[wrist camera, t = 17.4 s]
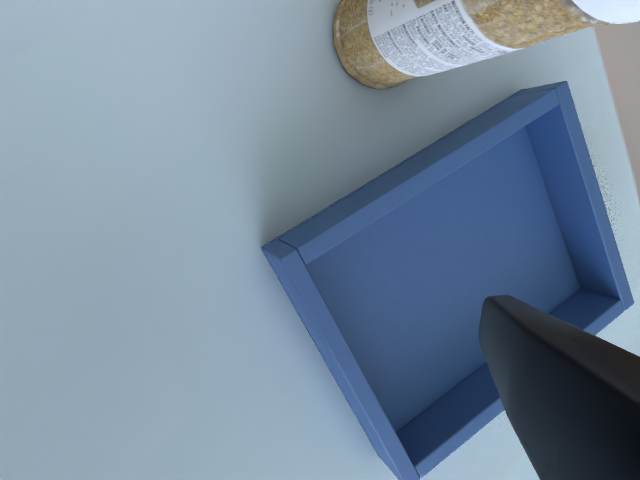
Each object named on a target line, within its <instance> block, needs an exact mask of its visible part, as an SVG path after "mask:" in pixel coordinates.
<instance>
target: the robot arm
mask: <svg viewBox="0 0 640 480" xmlns="http://www.w3.org/2000/svg"><path fill="white" fill-rule="evenodd" d="M478 338H479V344H480V347H481V349H482V352H483V355H484V357H485V360H486V362H487V365H488V368H489V370H490V373H491V375H492V378H493V381H494V383H495V386H496V388H497V391H498V394H499V396H500V399H501V401H502V404H503V406H504V409H505V411H506V414H507V416H508V418H509V420H510V422H511V424H512V426H513V428H514V430H515V432H516V434H517V436H518V438H519V440H520V442H521V444H522V446H523V448H524V450H525V452H526V453H527V455H528V457H529V459H530V461H531V463H532V465H533V467H534V469H535V471H536V473H537V475H538V477H539V479H540V480H640V357H639V356H637V355H635V354H633V353H630V352H628V351H626V350H624V349H622V348H620V347H618V346H616V345H613V344H611V343H609V342H607V341H605V340H603V339H601V338H599V337H596V336H594V335H592V334H590V333H588V332H586V331H584V330H582V329H580V328H577V327H575V326H573V325H571V324H569V323H567V322H565V321H563V320H560V319H558V318H556V317H554V316H552V315H550V314H548V313H546V312H543V311H541V310H539V309H537V308H535V307H533V306H531V305H529V304H526V303H524V302H522V301H520V300H518V299H516V298H514V297H512V296H509V295H496V296H488V297H486V298H485V300H484V302H483V305H482V312H481V318H480V325H479V332H478Z"/></svg>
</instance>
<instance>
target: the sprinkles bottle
mask: <svg viewBox="0 0 640 480" xmlns="http://www.w3.org/2000/svg"><path fill="white" fill-rule="evenodd" d="M636 21H640V0H342V1H341V2H340V4H339V6H338V8H337V12H336V16H335V20H334V26H333V33H334V44H335V47H336V51H337V54H338V56H339V58H340V60H341V63H342V64H343V66H344V67H345V69H346V71H347V72H348V73H349V74H350V75H351V76H352V77H354V78H355V79H356V80H358V81H359V82H360V83H362V84H364V85H366V86H368V87H373V88H378V89H383V88H390V87H394V86H397V85H399V84H401V83H403V82H405V81H406V80H408V79H411V78H415V77H418V76H429V75H432V74H436V73H440V72H443V71H447V70H451V69H454V68H458V67H461V66H465V65H469V64H472V63H476V62H479V61H483V60H486V59H489V58H493V57H496V56H500V55H503V54H507V53H510V52H514V51H517V50H520V49H524V48H527V47H531V46H533V45H535V44H537V43H538V42H540V41H543V40H547V39H550V38H554V37H557V36H562V35H564V34H568V33H571V32H575V31H578V30H581V29H584V28H587V27H591V26H593V25H596V24H604V25H605V24H608V23H617V24H618V23H619V24H625V23H630V22H636Z"/></svg>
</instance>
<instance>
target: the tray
mask: <svg viewBox="0 0 640 480" xmlns="http://www.w3.org/2000/svg"><path fill="white" fill-rule="evenodd" d="M261 249H262V251H263V253H264V254H265V256H266V258H267V260H268V261H269V263H270V265H271V267H272V268H273V270H274V272H275V274H276V275H277V277H278V279H279V281H280V283H281V284H282V286H283V288H284V290H285V291H286V293H287V295H288V297H289V298H290V300H291V302H292V304H293V306H294V307H295V309H296V311H297V313H298V314H299V316H300V318H301V320H302V321H303V323H304V325H305V327H306V329H307V330H308V332H309V334H310V336H311V337H312V339H313V341H314V343H315V344H316V346H317V348H318V350H319V351H320V353H321V355H322V357H323V359H324V360H325V362H326V364H327V366H328V367H329V369H330V371H331V373H332V374H333V376H334V378H335V380H336V382H337V383H338V385H339V387H340V389H341V390H342V392H343V394H344V396H345V397H346V399H347V401H348V403H349V405H350V406H351V408H352V410H353V412H354V413H355V415H356V417H357V419H358V420H359V422H360V424H361V426H362V427H363V429H364V431H365V433H366V435H367V436H368V438H369V440H370V442H371V443H372V445H373V447H374V449H375V450H376V452H377V454H378V456H379V457H380V458H381V459H382V460H383V462H384V463H385V464H386V465H387V466H388V467H389V469H390V470H391V471H392V472H393V473H394V474H395V476H396V477H397V478H398V479H399V480H420V477H421V478H422V477H423V476H424V475H426V474H427V473H428V472H429V471H431V470H432V469H433V468H434V467H435V466H437V465H438V464H439V463H440V462H441V461H443V460H444V459H445V458H446V457H448V456H449V455H450V454H451V453H452V452H454V451H455V450H456V449H457V448H458V447H460V446H461V445H462V444H463V443H465V442H466V441H467V440H468V439H469V438H471V437H472V436H473V435H474V434H476V433H477V432H478V431H479V430H480V429H482V428H483V427H484V426H485V425H486V424H488V423H489V422H490V421H491V420H493V419H494V418H495V417H496V416H497V415H499V414H500V413H501V412H502V411H504V410H505V409H504V406H503V404H502V401H501V399H500V396H499V394H498V391H497V388H496V386H495V383H494V381H493V378H492V375H491V373H490V370H489V368H488V365H487V362H486V360H485V357H484V355H483V352H482V349H481V347H480V344H479V338H478V332H479V325H480V318H481V312H482V305H483V302H484V300H485V298H486V297H488V296H496V295H509V296H512V297H514V298H516V299H518V300H520V301H522V302H524V303H526V304H529V305H531V306H533V307H535V308H537V309H539V310H541V311H543V312H546V313H548V314H550V315H552V316H554V317H556V318H558V319H560V320H563V321H565V322H567V323H569V324H571V325H573V326H575V327H577V328H580V329H582V330H584V331H586V332H588V333H590V334H592V335H594V336H595V335H596V334H597V333H598V332H600V331H601V330H602V329H603V328H604V327H606V326H607V325H608V324H609V323H611V322H612V321H613V320H614V319H615V318H617V317H618V316H619V315H620V314H622V313H623V312H624V311H625V310H626V309H628V308H629V307H630V306H631V305H633V304H634V301H633V297H632V294H631V291H630V287H629V284H628V281H627V277H626V274H625V271H624V268H623V264H622V261H621V258H620V254H619V251H618V248H617V244H616V241H615V238H614V235H613V231H612V228H611V225H610V221H609V218H608V215H607V211H606V208H605V205H604V202H603V198H602V195H601V192H600V188H599V185H598V182H597V178H596V175H595V172H594V169H593V165H592V162H591V159H590V155H589V152H588V149H587V145H586V142H585V139H584V136H583V132H582V129H581V126H580V122H579V119H578V116H577V112H576V109H575V106H574V102H573V99H572V96H571V93H570V89H569V86H568V83H567V81H563V82H558V83H553V84H548V85H543V86H538V87H533V88H528V89H522V90H520V91H519V92H517V93H515V94H514V95H512V96H510V97H509V98H507V99H505V100H504V101H502V102H500V103H499V104H497V105H495V106H494V107H492V108H491V109H489V110H487V111H486V112H484V113H482V114H481V115H479V116H477V117H476V118H474V119H472V120H471V121H469V122H467V123H466V124H464V125H462V126H461V127H459V128H458V129H456V130H454V131H453V132H451V133H449V134H448V135H446V136H444V137H443V138H441V139H439V140H438V141H436V142H434V143H433V144H431V145H430V146H428V147H426V148H425V149H423V150H421V151H420V152H418V153H416V154H415V155H413V156H411V157H410V158H408V159H406V160H405V161H403V162H401V163H400V164H398V165H397V166H395V167H393V168H392V169H390V170H388V171H387V172H385V173H383V174H382V175H380V176H378V177H377V178H375V179H373V180H372V181H370V182H368V183H367V184H365V185H364V186H362V187H360V188H359V189H357V190H355V191H354V192H352V193H350V194H349V195H347V196H345V197H344V198H342V199H340V200H339V201H337V202H336V203H334V204H332V205H331V206H329V207H327V208H326V209H324V210H322V211H321V212H319V213H317V214H316V215H314V216H312V217H311V218H309V219H307V220H306V221H304V222H303V223H301V224H299V225H298V226H296V227H294V228H293V229H291V230H289V231H288V232H286V233H284V234H283V235H281V236H279V237H278V238H276V239H275V240H273V241H271V242H270V243H268V244H266V245H265V246H263V247H261Z"/></svg>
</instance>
